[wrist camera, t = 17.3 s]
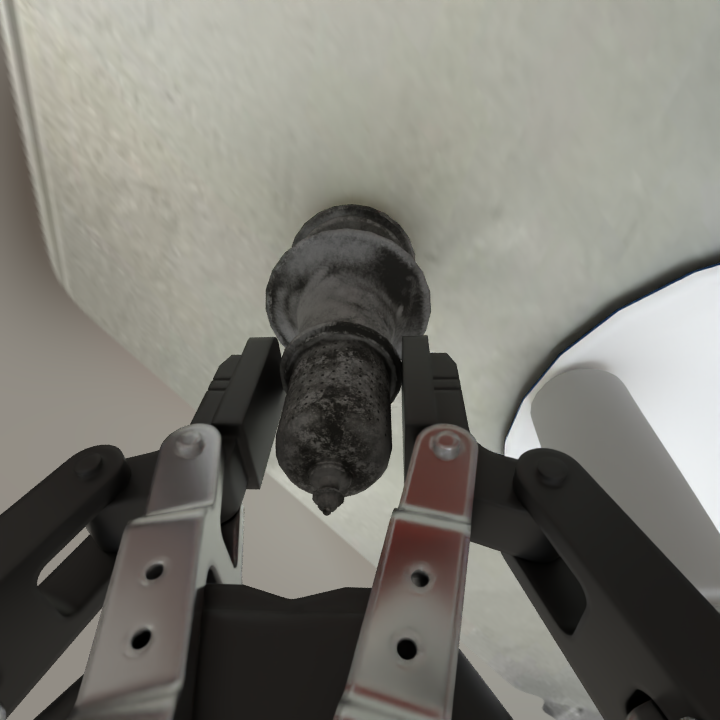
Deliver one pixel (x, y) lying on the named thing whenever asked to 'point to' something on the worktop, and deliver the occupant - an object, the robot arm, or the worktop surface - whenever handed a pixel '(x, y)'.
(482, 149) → the worktop surface
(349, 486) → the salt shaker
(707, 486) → the plate
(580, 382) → the beverage can
